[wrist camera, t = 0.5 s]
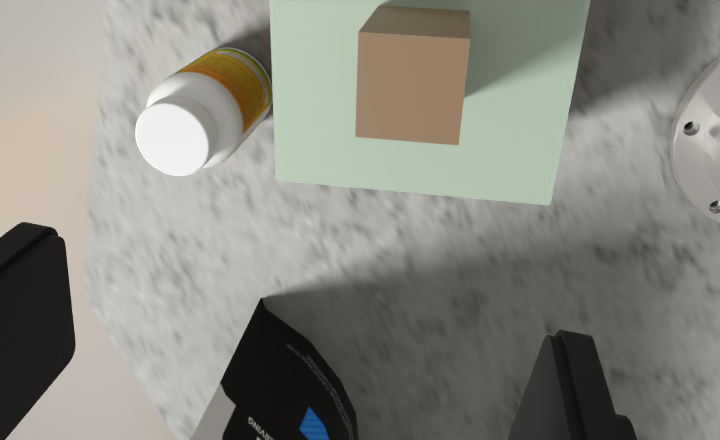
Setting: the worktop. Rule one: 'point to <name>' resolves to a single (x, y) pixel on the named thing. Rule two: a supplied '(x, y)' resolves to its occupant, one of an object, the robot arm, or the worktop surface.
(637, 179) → the worktop surface
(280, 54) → the lid
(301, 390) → the protein powder
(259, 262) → the worktop surface
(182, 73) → the supplement bottle
